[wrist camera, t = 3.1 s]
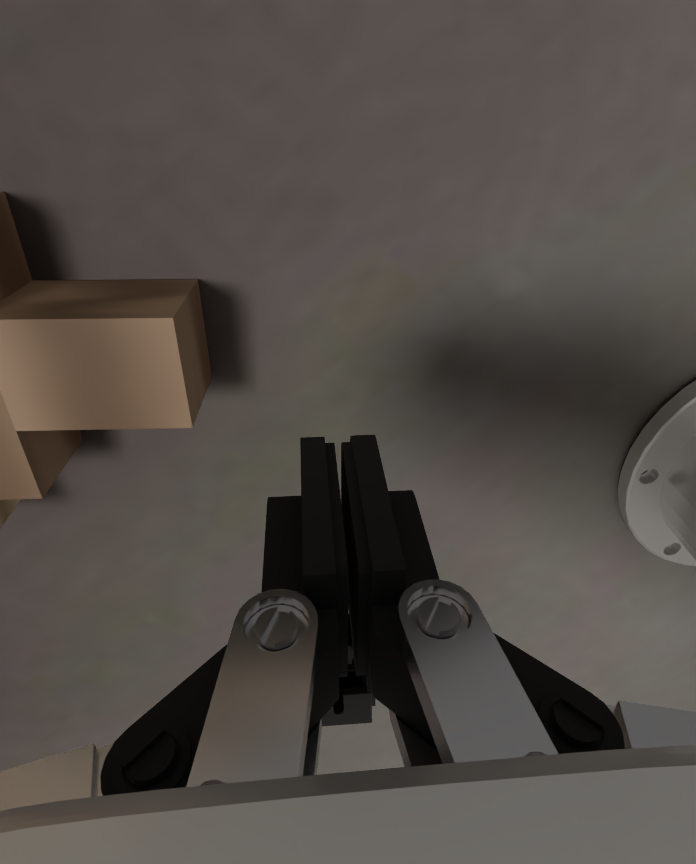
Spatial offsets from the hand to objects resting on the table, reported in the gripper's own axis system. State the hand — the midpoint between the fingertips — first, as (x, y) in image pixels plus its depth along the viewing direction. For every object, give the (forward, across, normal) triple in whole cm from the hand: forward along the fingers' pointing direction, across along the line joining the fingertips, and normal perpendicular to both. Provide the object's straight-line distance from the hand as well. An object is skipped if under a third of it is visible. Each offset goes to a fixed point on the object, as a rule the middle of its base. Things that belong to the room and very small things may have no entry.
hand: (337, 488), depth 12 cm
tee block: (+11, +10, 0) cm, 15 cm away
